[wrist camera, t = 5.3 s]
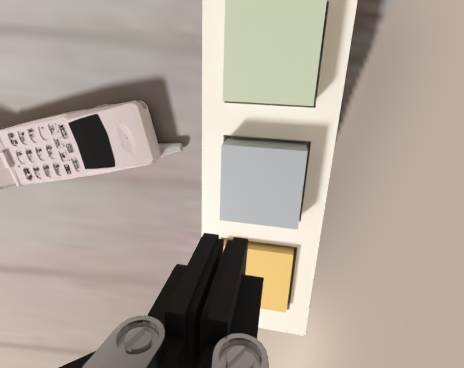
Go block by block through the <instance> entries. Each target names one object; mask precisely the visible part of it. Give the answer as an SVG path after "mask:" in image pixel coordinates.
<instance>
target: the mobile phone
mask: <svg viewBox="0 0 464 368" xmlns="http://www.w3.org/2000/svg"><path fill="white" fill-rule="evenodd" d="M182 150H183V146H182V143H181V142H180V143H164V144H162V143H160V144H158V141H157V138H156V134H155V131H154V127H153V124H152V120H151V117H150V113H149V110H148V106H147V105H146V104H145V103H144V102H143V101H139V100H134V101H129V102H124V103H119V104H103V105H99V106H96V107H95V108H92V109H87V110H85V109H82V110H77V111H71V112H67V113H62V114H58V115H54V116H50V117H45V118H41V119H37V120H32V121H28V122H24V123H20V124H17V125H16V126H12V127H8V128H4V129H0V189H4V188H8V187H11V186H10V185H12V186H15V185H14V184H16V186H21V185H23V184H32V183H41V182H49V181H58V180H65V179H71V178H78V177H84V176H90V175H97V174H102V173H108V172H113V171H119V170H123V169H129V168H134V167H139V166H144V165H149V164H152V163H154V162H156V161H157V160H158V159H159V157H164V156H165V155H169V154H173V153H176V152H180V151H182ZM7 186H8V187H7ZM3 187H4V188H3Z"/></svg>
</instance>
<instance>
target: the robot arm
mask: <svg viewBox="0 0 464 368" xmlns="http://www.w3.org/2000/svg"><path fill="white" fill-rule="evenodd" d="M223 247H224V240H223V239H219V235H217V234H210V233H204V234H203V235H202V237H201V239H200V241H199V243H198V245H197V247H196V249H195V251H194V253H193V255H192V257H191V259H190V261H189V263H188V265H181V264H177V265H176V266H175V267H174V269H173V271H172V273H171V275H170V276H169V278H168V280H167V282H166V283H165V285H164V287H163V289H162V291H161V292H160V294H159V296H158V298H157V299H156V301H155V303H154V305H153V307H152V308H151V310H150V312H149V314H148V315H147V316H136V317H133V318H130V319H128V320H126V321H124V322H122V323H121V324H120V325H119V326H118V327H117V328H116V329H115V330H114V331H113V332H112V333H111V334H110V336H109V337H108V338H107V339H106V340H105V341H104V343H103V344H102V345H101V346H100V347H99V348H98V350H97V351H95V352H93V353H90V354H88V355H86V356H84V357H82V358H79V359H77V360H75V361H73V362H70V363H68V364H66V365H64V366H62V367H59V368H269V363H268V356H267V352H266V350H265V348H264V346H263V345H262V343H261V342H259V341H258V340H257V332H258V324H259V316H260V307H261V299H262V290H263V281H264V278H263V277H257V276H251V275H245V273H246V261H247V250H248V239H246V238H238V237H233V240H227V243H226V246H225V248H224V251H223Z"/></svg>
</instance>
